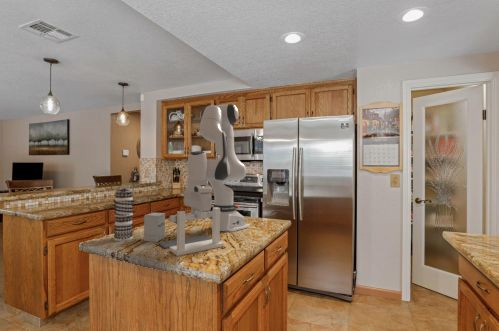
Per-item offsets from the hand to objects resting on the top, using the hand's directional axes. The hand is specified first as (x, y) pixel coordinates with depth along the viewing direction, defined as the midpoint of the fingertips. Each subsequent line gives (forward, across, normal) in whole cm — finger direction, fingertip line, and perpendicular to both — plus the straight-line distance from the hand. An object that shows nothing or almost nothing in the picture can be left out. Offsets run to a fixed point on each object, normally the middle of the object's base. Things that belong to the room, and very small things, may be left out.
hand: (196, 217), depth 119 cm
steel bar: (0, 0, 0) cm, 0 cm away
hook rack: (+13, +1, 0) cm, 13 cm away
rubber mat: (+13, -10, 0) cm, 17 cm away
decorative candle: (+14, -33, -23) cm, 42 cm away
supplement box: (+14, -23, -11) cm, 29 cm away
